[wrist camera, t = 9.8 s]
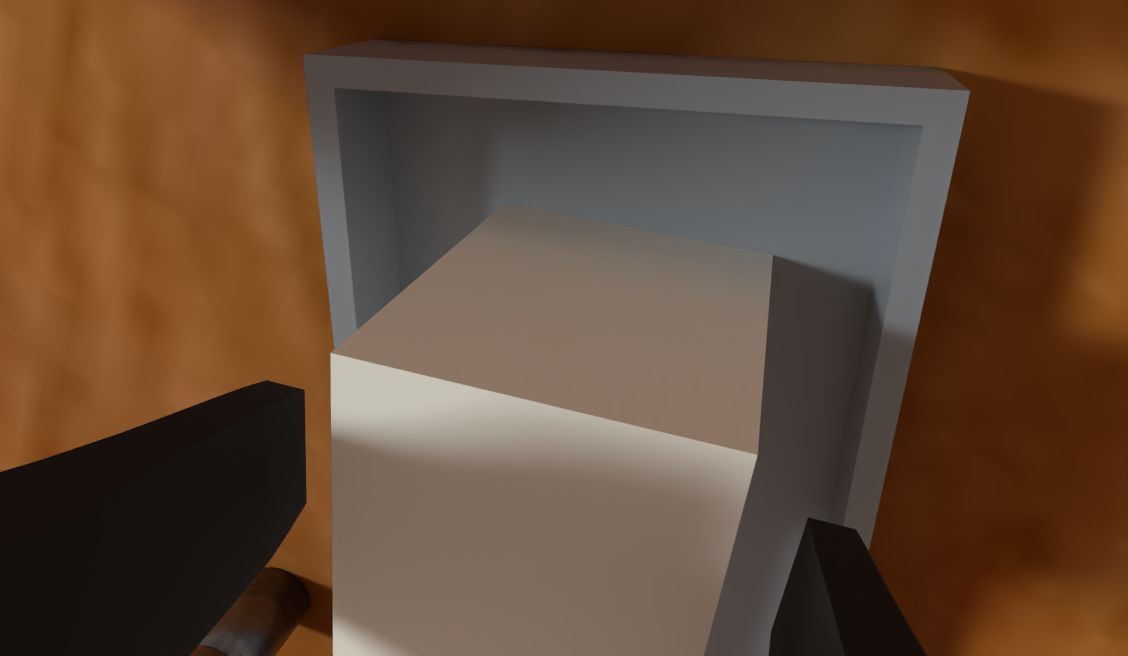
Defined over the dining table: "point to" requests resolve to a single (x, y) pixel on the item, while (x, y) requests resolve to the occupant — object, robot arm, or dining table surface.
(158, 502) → the robot arm
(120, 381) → the dining table surface
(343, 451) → the white mallet
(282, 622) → the ball stud
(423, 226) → the bin
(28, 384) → the dining table surface
